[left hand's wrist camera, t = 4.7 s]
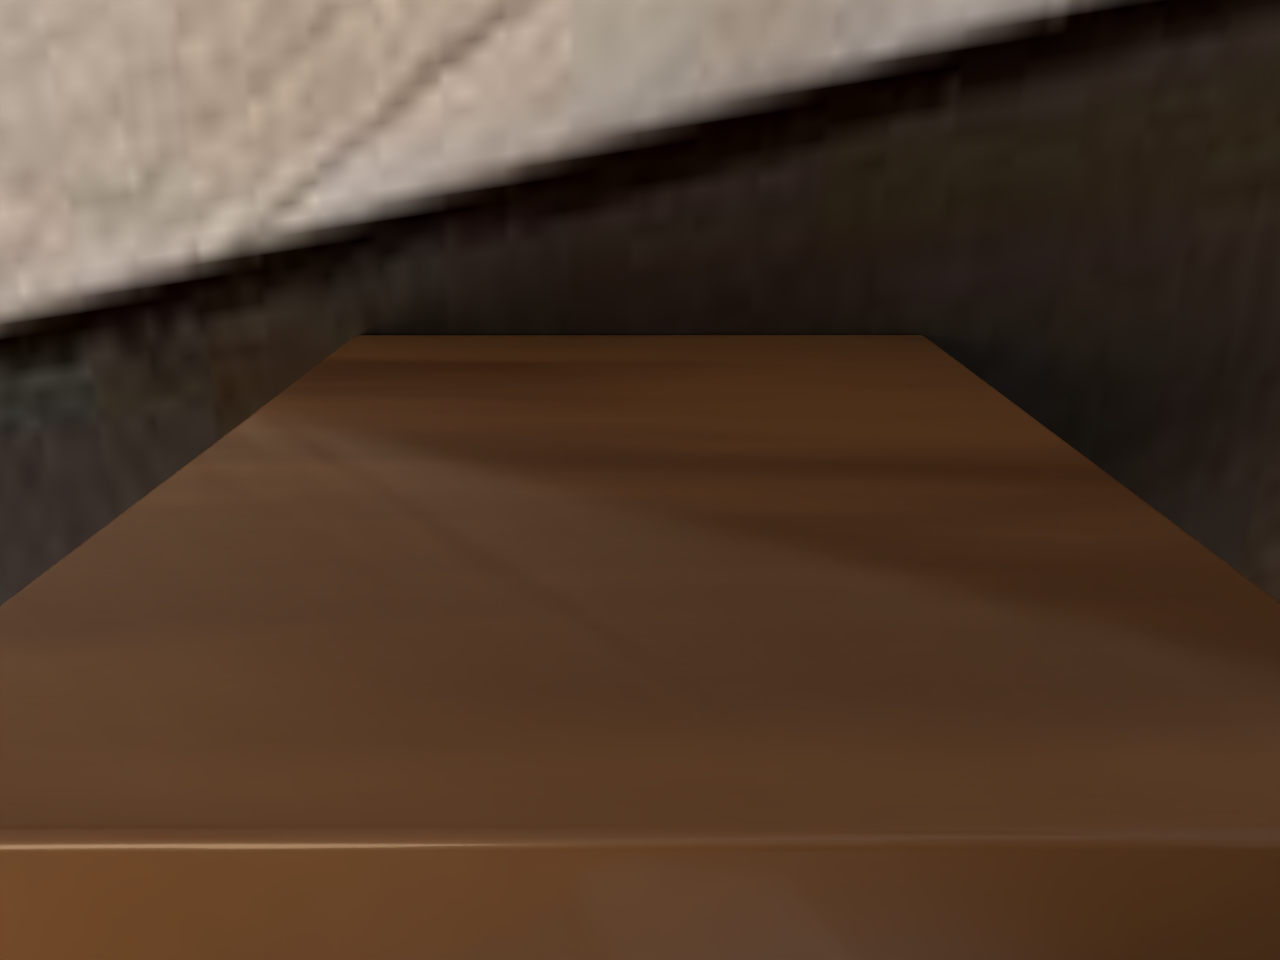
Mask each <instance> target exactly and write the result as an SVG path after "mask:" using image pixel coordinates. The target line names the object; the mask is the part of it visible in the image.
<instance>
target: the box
mask: <svg viewBox="0 0 1280 960" xmlns="http://www.w3.org/2000/svg"><path fill="white" fill-rule="evenodd" d="M0 960H1280V602H1278V601H1277V600H1276V599H1274V598H1273V597H1272V596H1270V595H1269V594H1268V593H1266V592H1265V591H1264V590H1262V589H1261V588H1260V587H1258V586H1257V585H1256V584H1254V583H1253V582H1252V581H1250V580H1249V579H1248V578H1246V577H1245V576H1244V575H1242V574H1241V573H1240V572H1238V571H1237V570H1236V569H1234V568H1233V567H1232V566H1230V565H1229V564H1228V563H1226V562H1225V561H1224V560H1222V559H1221V558H1220V557H1218V556H1217V555H1216V554H1214V553H1213V552H1212V551H1210V550H1209V549H1208V548H1206V547H1205V546H1204V545H1202V544H1201V543H1200V542H1198V541H1197V540H1196V539H1194V538H1193V537H1192V536H1190V535H1189V534H1188V533H1186V532H1185V531H1184V530H1182V529H1181V528H1180V527H1178V526H1177V525H1176V524H1174V523H1173V522H1172V521H1170V520H1169V519H1168V518H1166V517H1165V516H1164V515H1162V514H1161V513H1160V512H1158V511H1157V510H1156V509H1154V508H1153V507H1152V506H1150V505H1149V504H1148V503H1146V502H1145V501H1144V500H1142V499H1141V498H1140V497H1138V496H1137V495H1136V494H1134V493H1133V492H1132V491H1130V490H1129V489H1128V488H1126V487H1125V486H1124V485H1122V484H1121V483H1120V482H1118V481H1117V480H1116V479H1114V478H1113V477H1112V476H1110V475H1109V474H1108V473H1106V472H1105V471H1104V470H1102V469H1101V468H1100V467H1098V466H1097V465H1096V464H1094V463H1093V462H1092V461H1090V460H1089V459H1088V458H1086V457H1085V456H1084V455H1082V454H1081V453H1080V452H1078V451H1077V450H1076V449H1074V448H1073V447H1071V446H1070V445H1069V444H1067V443H1066V442H1065V441H1063V440H1062V439H1061V438H1059V437H1058V436H1057V435H1055V434H1054V433H1053V432H1051V431H1050V430H1049V429H1047V428H1046V427H1045V426H1043V425H1042V424H1041V423H1039V422H1038V421H1037V420H1035V419H1034V418H1033V417H1031V416H1030V415H1029V414H1027V413H1026V412H1025V411H1023V410H1022V409H1021V408H1019V407H1018V406H1017V405H1015V404H1014V403H1013V402H1011V401H1010V400H1009V399H1007V398H1006V397H1005V396H1003V395H1002V394H1001V393H999V392H998V391H997V390H995V389H994V388H993V387H991V386H990V385H989V384H987V383H986V382H985V381H983V380H982V379H981V378H979V377H978V376H977V375H975V374H974V373H973V372H971V371H970V370H969V369H967V368H966V367H965V366H963V365H962V364H961V363H959V362H958V361H957V360H955V359H954V358H953V357H951V356H950V355H949V354H947V353H946V352H945V351H943V350H942V349H941V348H939V347H938V346H937V345H935V344H934V343H933V342H931V341H930V340H929V339H927V338H926V337H924V336H922V335H358V336H355V337H353V338H352V339H351V340H349V341H348V342H347V343H346V344H344V345H343V346H342V347H340V348H339V349H338V350H336V351H335V352H334V353H332V354H331V355H330V356H328V357H327V358H326V359H324V360H323V361H322V362H321V363H319V364H318V365H317V366H315V367H314V368H313V369H311V370H310V371H309V372H307V373H306V374H305V375H303V376H302V377H301V378H299V379H298V380H297V381H296V382H294V383H293V384H292V385H290V386H289V387H288V388H286V389H285V390H284V391H282V392H281V393H280V394H278V395H277V396H276V397H274V398H273V399H272V400H270V401H269V402H268V403H267V404H265V405H264V406H263V407H261V408H260V409H259V410H257V411H256V412H255V413H253V414H252V415H251V416H249V417H248V418H247V419H245V420H244V421H243V422H242V423H240V424H239V425H238V426H236V427H235V428H234V429H232V430H231V431H230V432H228V433H227V434H226V435H224V436H223V437H222V438H220V439H219V440H218V441H216V442H215V443H214V444H213V445H211V446H210V447H209V448H207V449H206V450H205V451H203V452H202V453H201V454H199V455H198V456H197V457H195V458H194V459H193V460H191V461H190V462H189V463H188V464H186V465H185V466H184V467H182V468H181V469H180V470H178V471H177V472H176V473H174V474H173V475H172V476H170V477H169V478H168V479H166V480H165V481H164V482H162V483H161V484H160V485H159V486H157V487H156V488H155V489H153V490H152V491H151V492H149V493H148V494H147V495H145V496H144V497H143V498H141V499H140V500H139V501H137V502H136V503H135V504H134V505H132V506H131V507H130V508H128V509H127V510H126V511H124V512H123V513H122V514H120V515H119V516H118V517H116V518H115V519H114V520H112V521H111V522H110V523H108V524H107V525H106V526H105V527H103V528H102V529H101V530H99V531H98V532H97V533H95V534H94V535H93V536H91V537H90V538H89V539H87V540H86V541H85V542H83V543H82V544H81V545H80V546H78V547H77V548H76V549H74V550H73V551H72V552H70V553H69V554H68V555H66V556H65V557H64V558H62V559H61V560H60V561H58V562H57V563H56V564H55V565H53V566H52V567H51V568H49V569H48V570H47V571H45V572H44V573H43V574H41V575H40V576H39V577H37V578H36V579H35V580H33V581H32V582H31V583H29V584H28V585H27V586H26V587H24V588H23V589H22V590H20V591H19V592H18V593H16V594H15V595H14V596H12V597H11V598H10V599H8V600H7V601H6V602H4V603H3V604H2V605H1V606H0Z"/></svg>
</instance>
